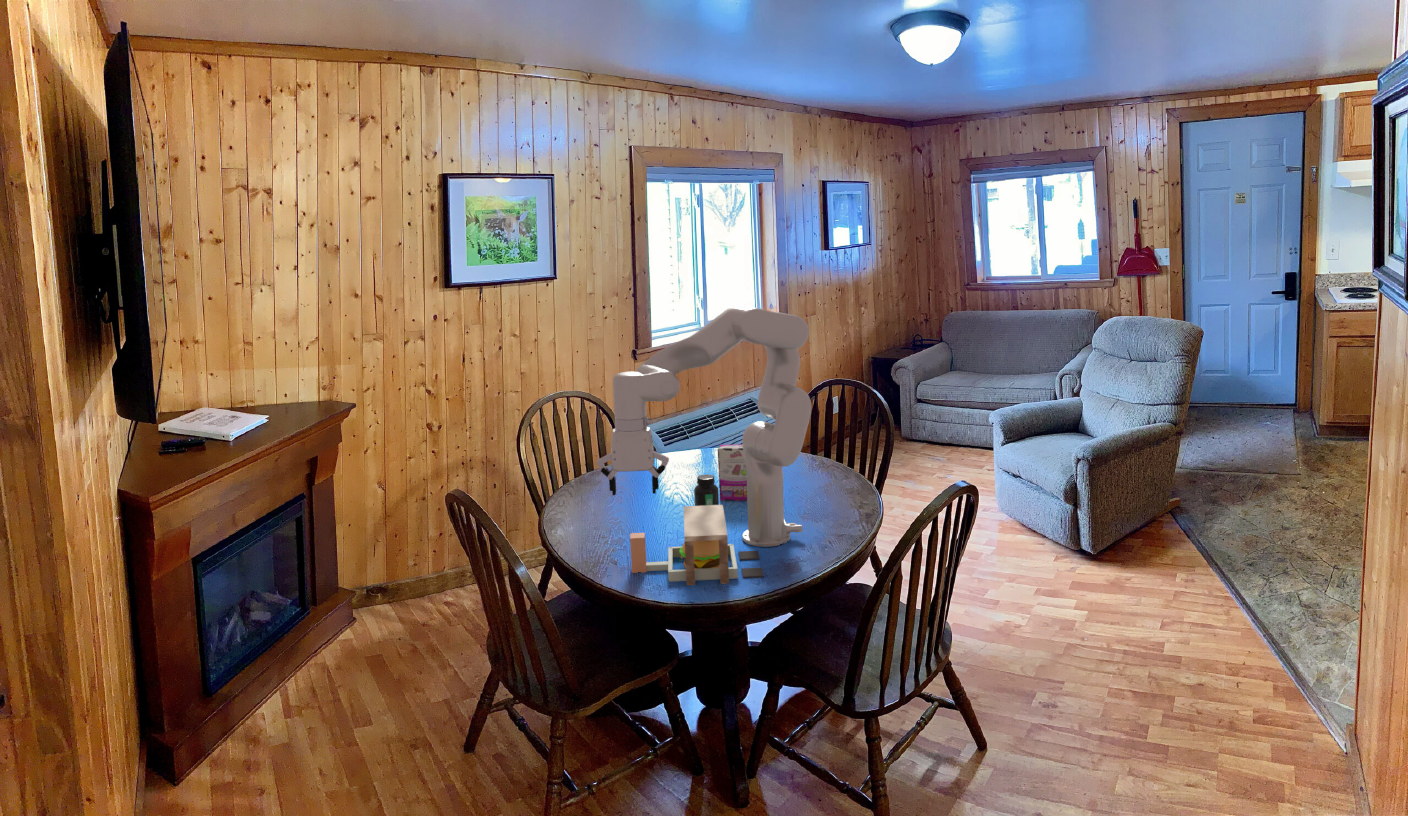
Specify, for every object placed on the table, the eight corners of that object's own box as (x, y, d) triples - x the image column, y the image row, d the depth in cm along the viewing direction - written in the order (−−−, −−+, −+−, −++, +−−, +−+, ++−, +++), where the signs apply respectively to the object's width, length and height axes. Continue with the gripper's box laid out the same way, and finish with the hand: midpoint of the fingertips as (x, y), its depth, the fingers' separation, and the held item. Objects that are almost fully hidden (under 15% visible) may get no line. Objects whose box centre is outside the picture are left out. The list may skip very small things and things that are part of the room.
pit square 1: (758, 552, 240) (758, 550, 240) (759, 559, 235) (759, 558, 235) (738, 552, 240) (738, 551, 240) (739, 560, 235) (739, 559, 235)
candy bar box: (758, 496, 283) (756, 444, 279) (756, 501, 278) (755, 448, 275) (721, 495, 285) (719, 443, 281) (719, 501, 280) (717, 448, 276)
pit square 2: (761, 568, 229) (761, 567, 229) (763, 577, 224) (763, 575, 224) (741, 569, 229) (741, 568, 229) (742, 578, 224) (742, 576, 224)
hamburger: (670, 566, 233) (669, 533, 231) (709, 554, 240) (708, 522, 238) (698, 581, 224) (696, 547, 222) (738, 568, 230) (737, 535, 228)
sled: (733, 553, 240) (732, 519, 238) (737, 578, 224) (736, 542, 222) (633, 557, 239) (631, 524, 237) (630, 583, 223) (628, 547, 221)
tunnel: (724, 549, 242) (722, 504, 239) (729, 583, 221) (727, 534, 219) (685, 551, 242) (683, 506, 239) (686, 585, 221) (684, 536, 218)
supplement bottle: (715, 522, 263) (713, 481, 260) (691, 520, 265) (690, 479, 262) (722, 514, 269) (720, 474, 266) (699, 512, 271) (698, 472, 268)
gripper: (667, 419, 227) (670, 486, 231) (595, 421, 226) (599, 489, 230) (667, 426, 219) (670, 496, 223) (593, 429, 219) (597, 499, 223)
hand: (634, 492), depth 227 cm, fingers open, 9 cm apart
